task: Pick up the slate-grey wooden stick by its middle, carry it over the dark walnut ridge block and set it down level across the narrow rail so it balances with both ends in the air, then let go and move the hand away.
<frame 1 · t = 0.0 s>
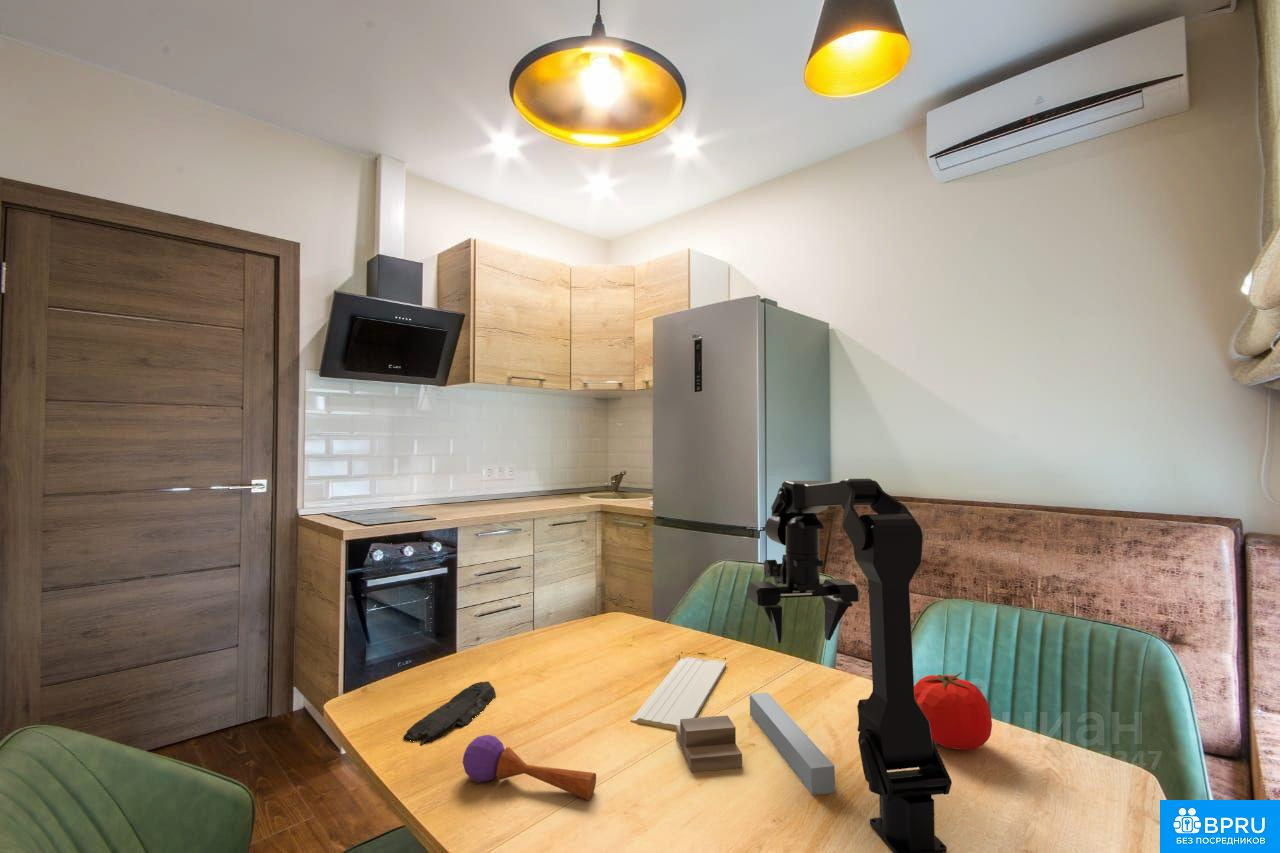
hand: (803, 641, 98), 15 cm above the table, tool pointing down, fingers open, 9 cm apart
wood: (459, 717, 102), on the table
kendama: (527, 788, 80), on the table
slate stick: (787, 750, 90), on the table
ridge block: (707, 751, 89), on the table
baseboard molding: (680, 694, 112), on the table
tomato: (949, 745, 91), on the table
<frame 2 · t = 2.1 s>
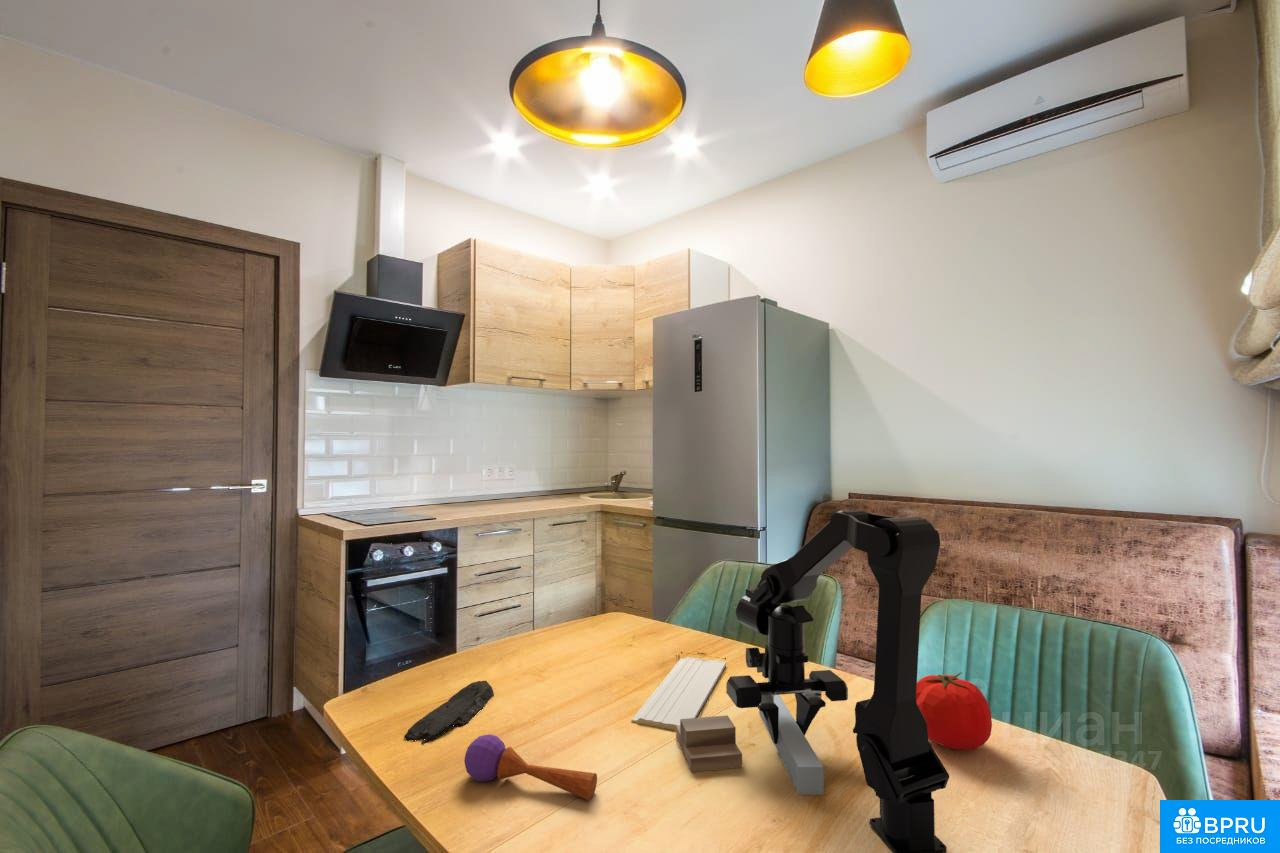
hand: (786, 741, 90), 1 cm above the table, tool pointing down, fingers closed on slate stick, 4 cm apart
slate stick: (787, 749, 90), on the table, touching gripper
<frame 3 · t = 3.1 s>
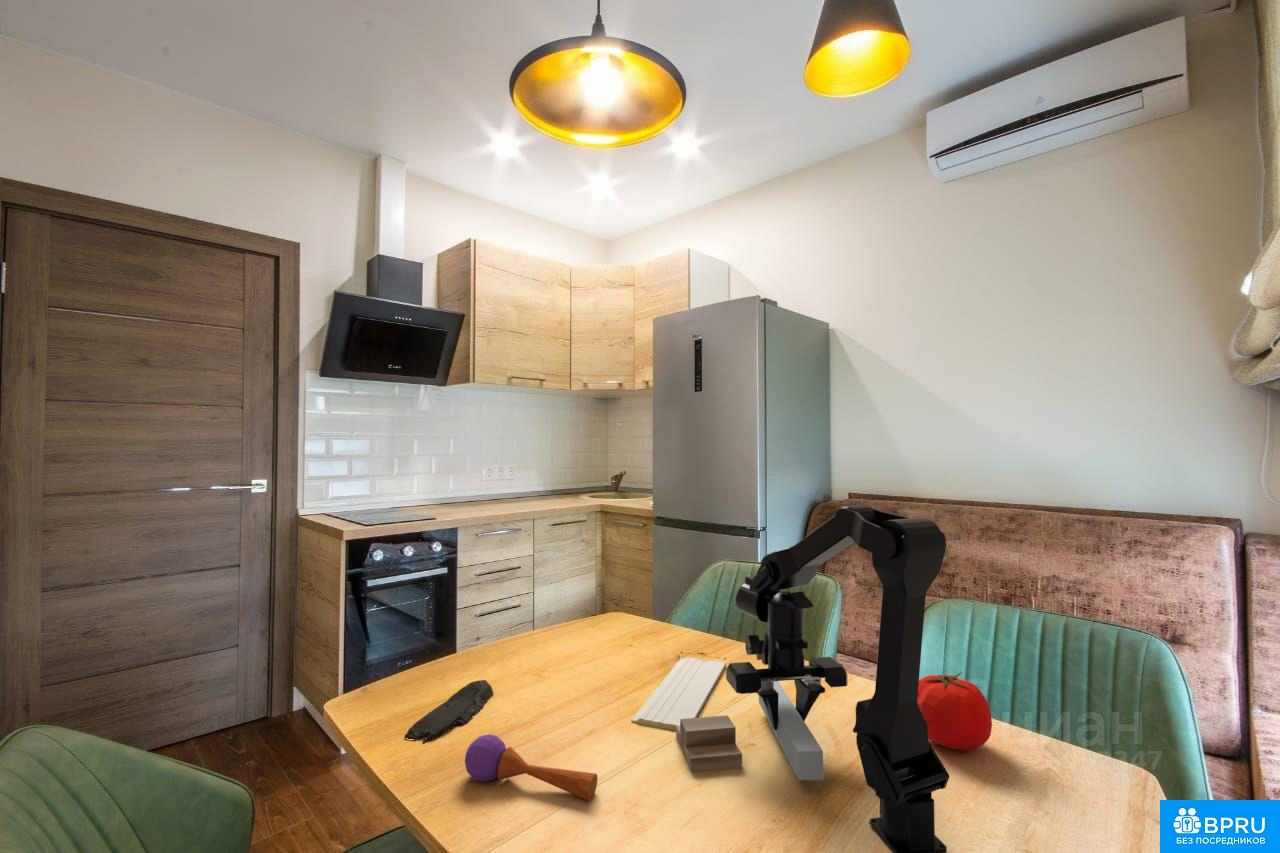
hand: (786, 728, 90), 3 cm above the table, tool pointing down, fingers closed on slate stick, 4 cm apart
slate stick: (786, 736, 90), point 2 cm above the table, touching gripper
everything else where it was.
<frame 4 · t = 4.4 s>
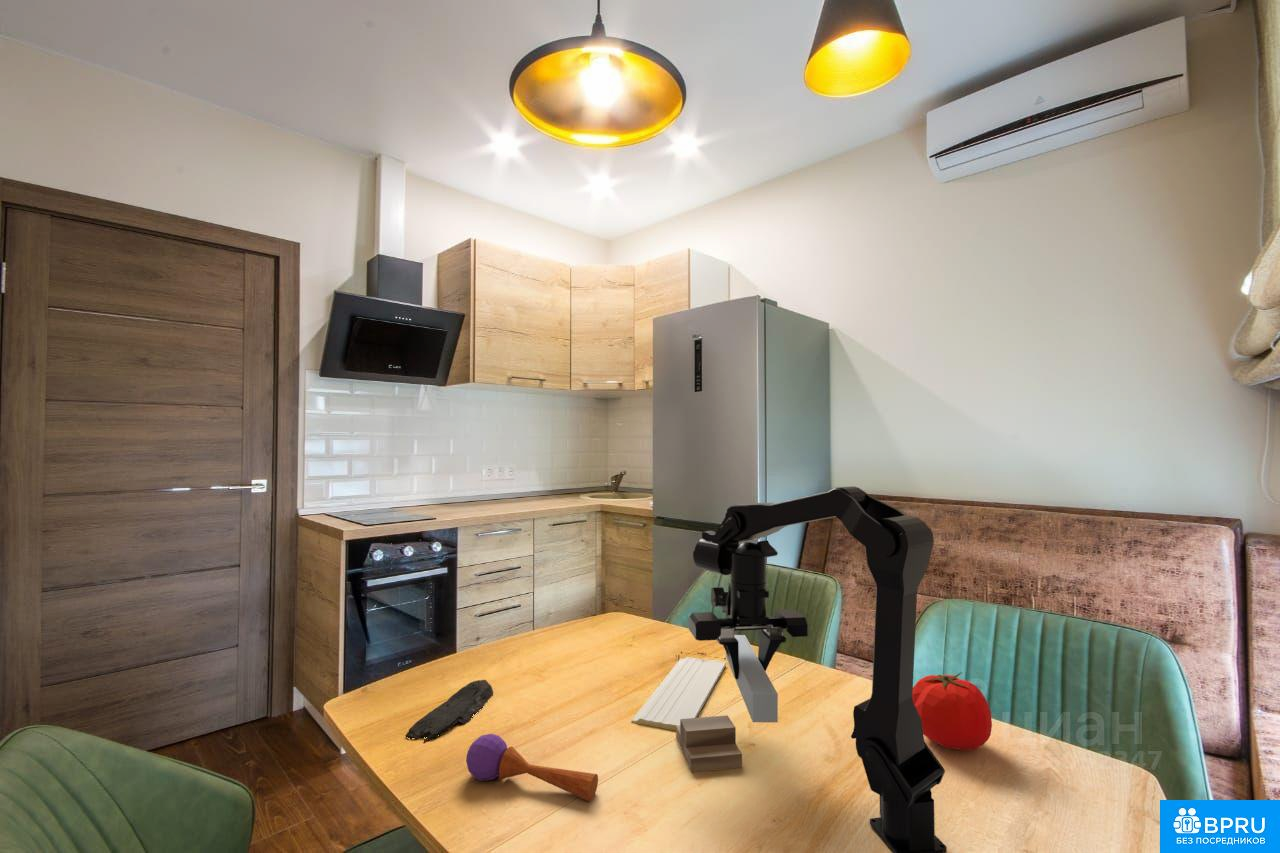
hand: (748, 677, 90), 11 cm above the table, tool pointing down, fingers closed on slate stick, 4 cm apart
slate stick: (748, 685, 90), point 10 cm above the table, touching gripper
everything else where it was.
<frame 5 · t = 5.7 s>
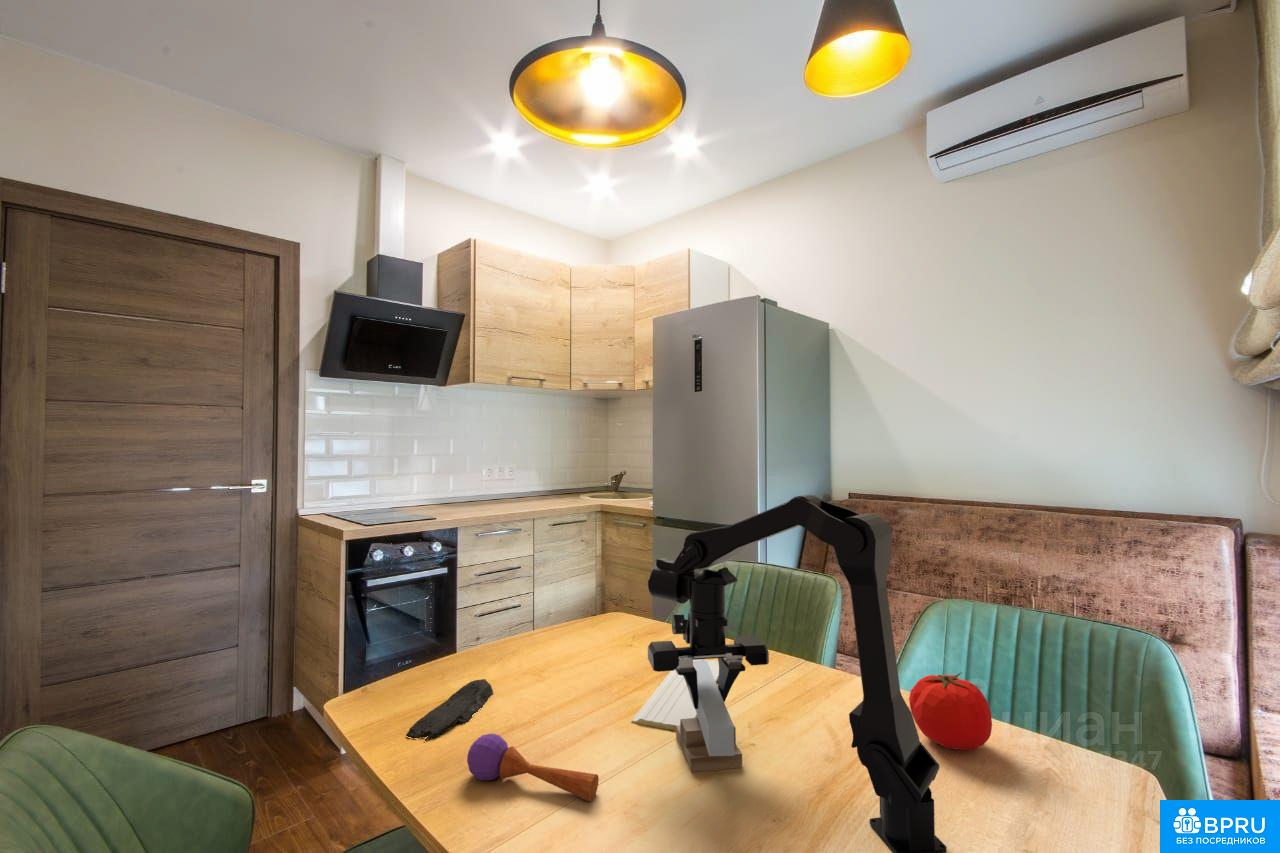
hand: (707, 707, 89), 7 cm above the table, tool pointing down, fingers closed on slate stick, 4 cm apart
slate stick: (707, 714, 89), point 6 cm above the table, touching gripper
when the fingers open (6 cm above the table, at t = 6.5 s): slate stick stays where it is, resting on ridge block.
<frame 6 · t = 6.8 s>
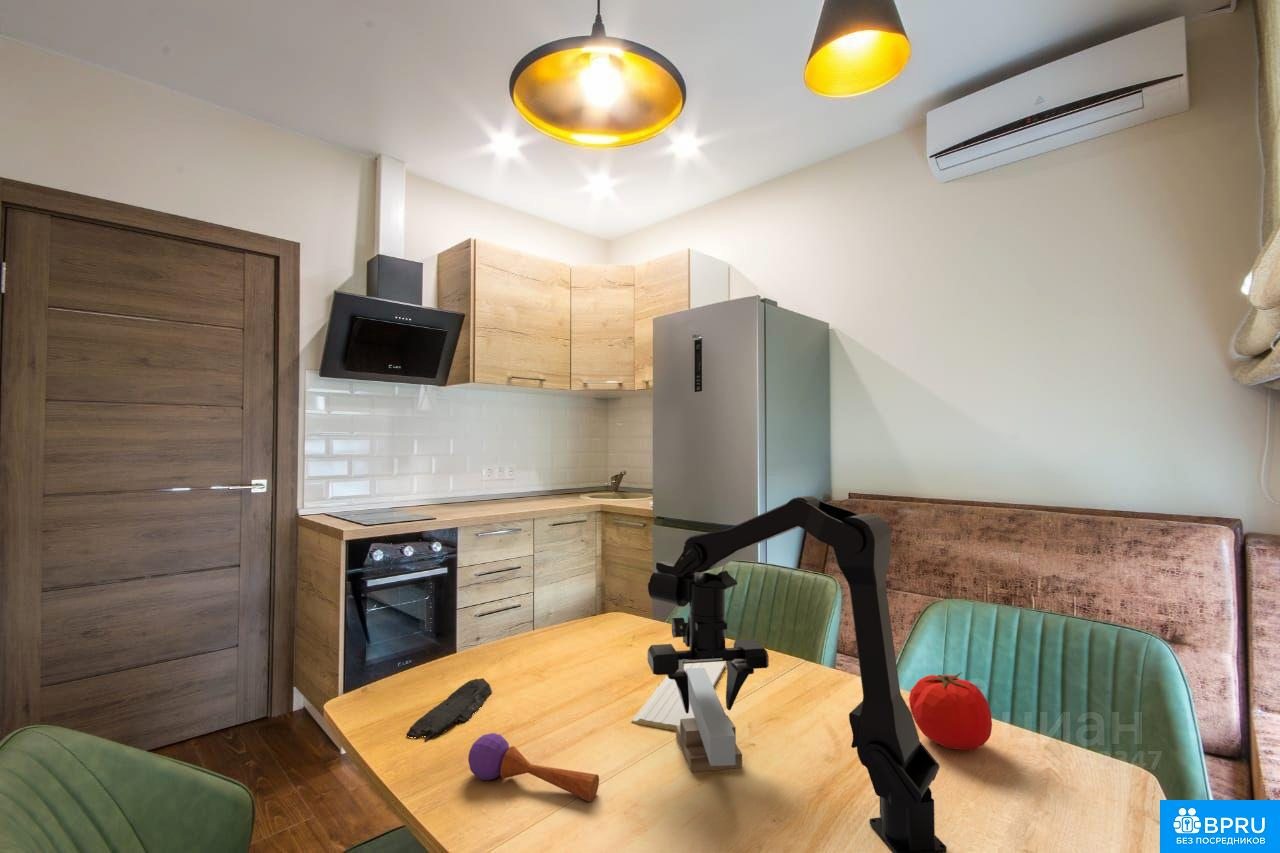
hand: (707, 710, 89), 6 cm above the table, tool pointing down, fingers open, 7 cm apart
slate stick: (707, 722, 89), point 4 cm above the table, touching ridge block
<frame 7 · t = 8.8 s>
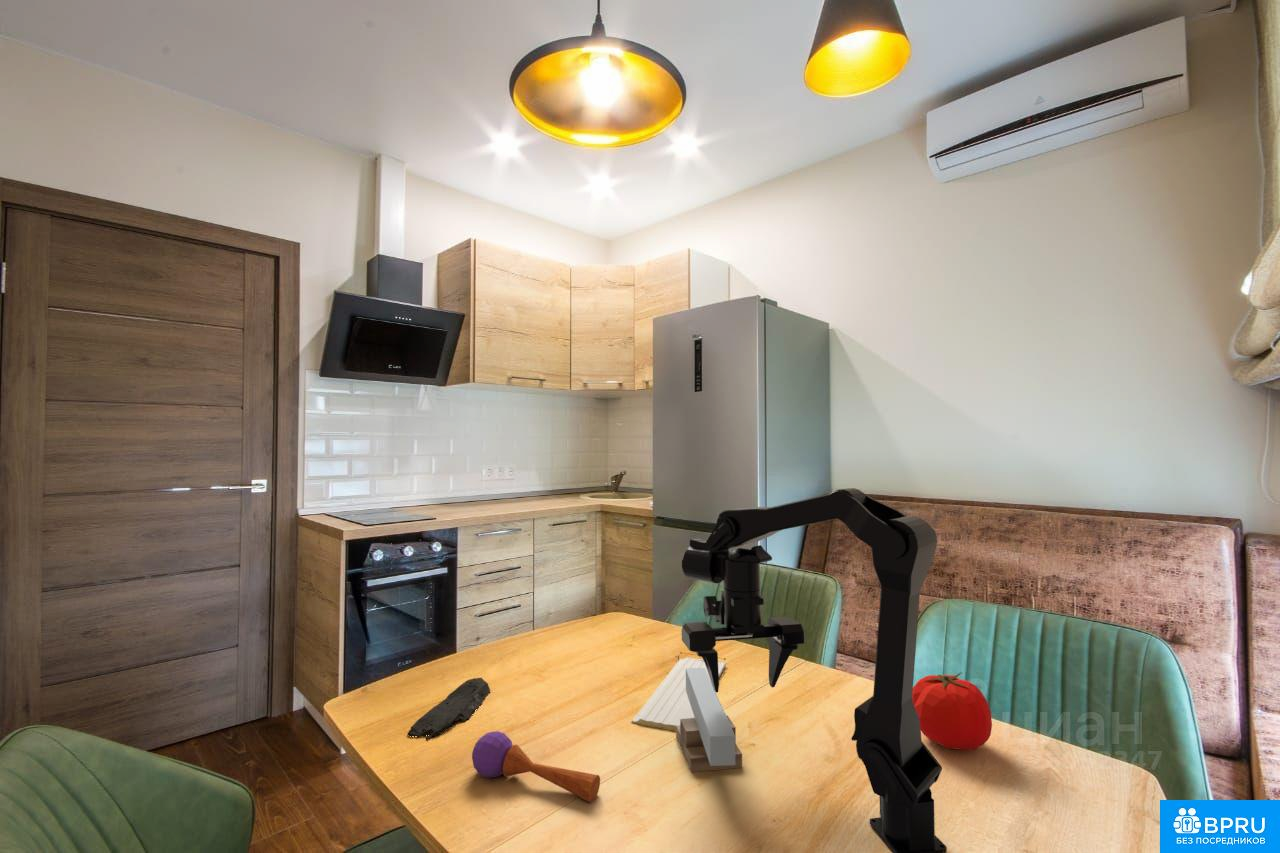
hand: (744, 688, 87), 11 cm above the table, tool pointing down, fingers open, 9 cm apart
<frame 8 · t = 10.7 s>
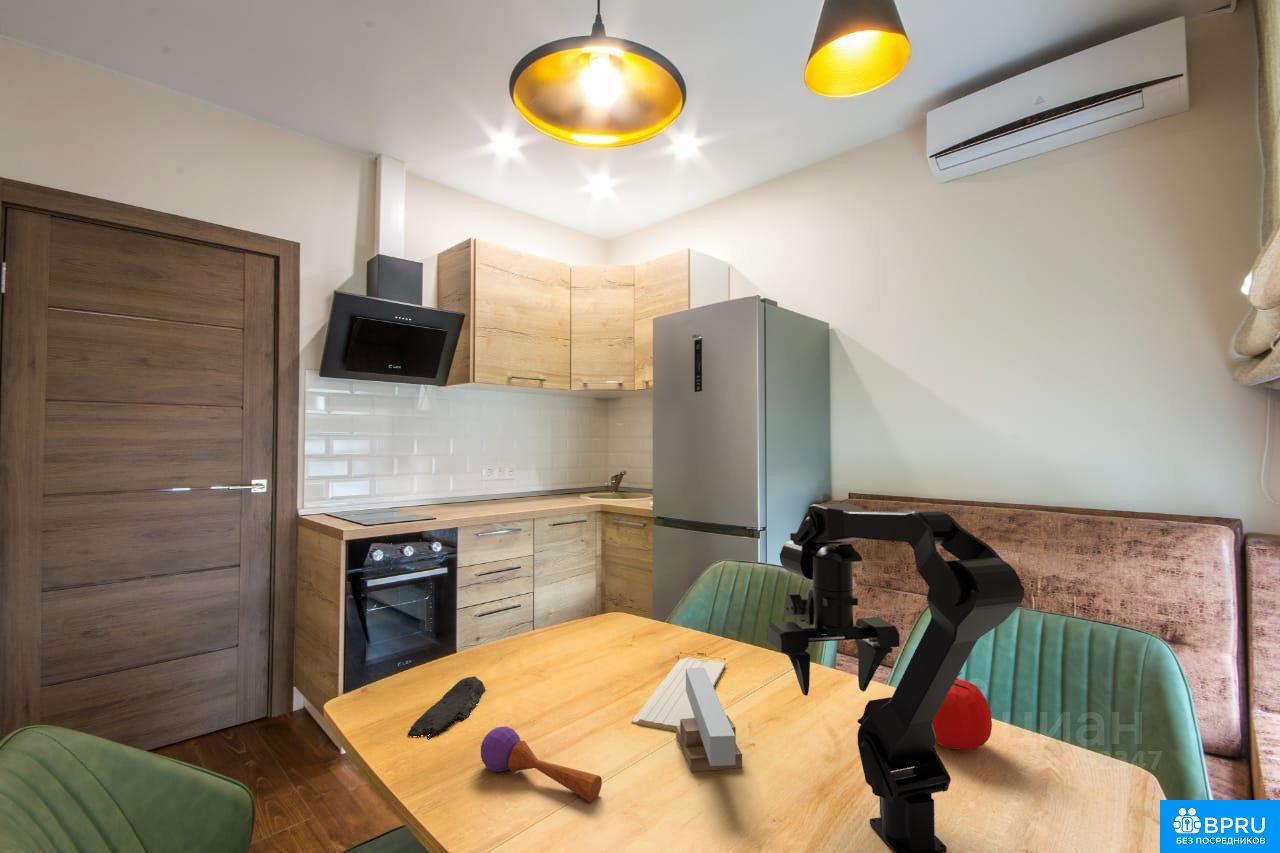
hand: (833, 692, 83), 12 cm above the table, tool pointing down, fingers open, 9 cm apart
at the end: slate stick touching ridge block; slate stick tilted 0° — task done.
